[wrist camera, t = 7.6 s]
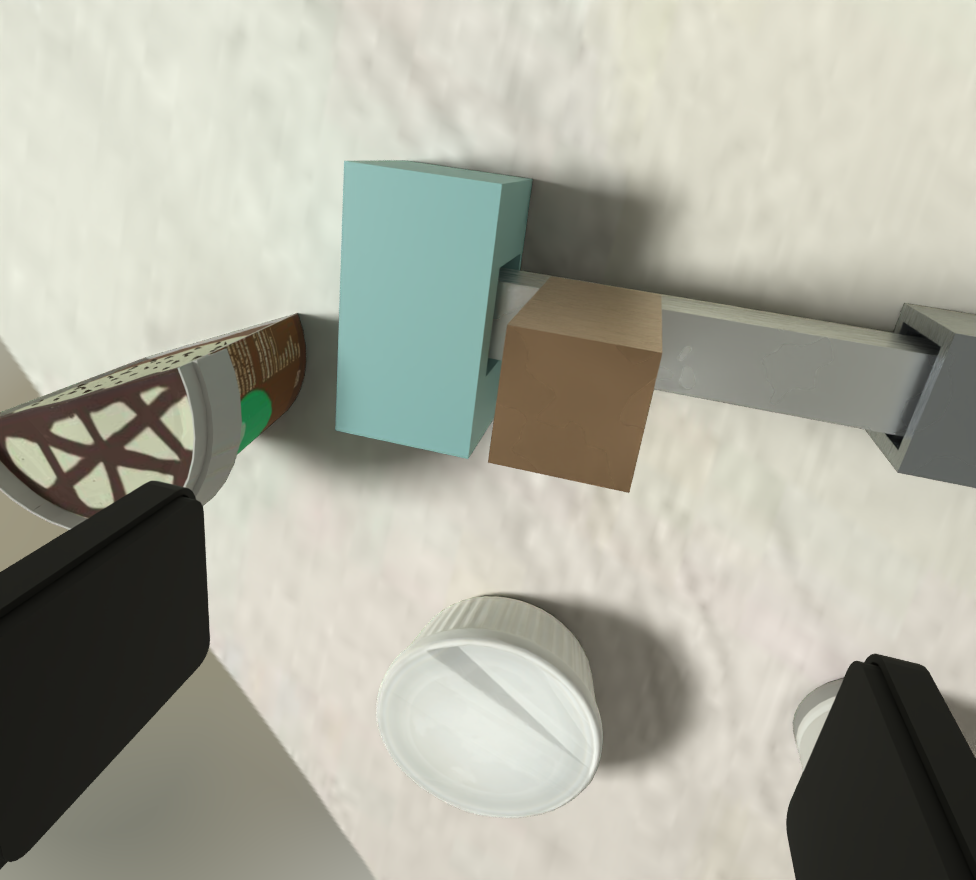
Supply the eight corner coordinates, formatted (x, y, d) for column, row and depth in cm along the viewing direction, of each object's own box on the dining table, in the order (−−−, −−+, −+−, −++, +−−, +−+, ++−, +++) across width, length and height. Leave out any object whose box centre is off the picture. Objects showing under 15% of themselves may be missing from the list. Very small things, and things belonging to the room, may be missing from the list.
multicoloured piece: (960, 330, 25) (1158, 442, 15) (919, 428, 27) (1073, 588, 17) (466, 249, 28) (362, 298, 18) (456, 342, 30) (356, 434, 20)
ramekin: (623, 599, 34) (617, 670, 29) (594, 760, 38) (585, 844, 34) (411, 558, 36) (374, 618, 31) (407, 715, 40) (374, 789, 36)
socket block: (532, 179, 27) (502, 183, 22) (500, 407, 31) (468, 458, 26) (404, 160, 28) (344, 161, 23) (389, 384, 32) (335, 430, 27)
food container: (173, 468, 37) (19, 567, 28) (123, 363, 35) (-60, 433, 26) (369, 425, 33) (262, 523, 24) (324, 305, 32) (191, 363, 23)
